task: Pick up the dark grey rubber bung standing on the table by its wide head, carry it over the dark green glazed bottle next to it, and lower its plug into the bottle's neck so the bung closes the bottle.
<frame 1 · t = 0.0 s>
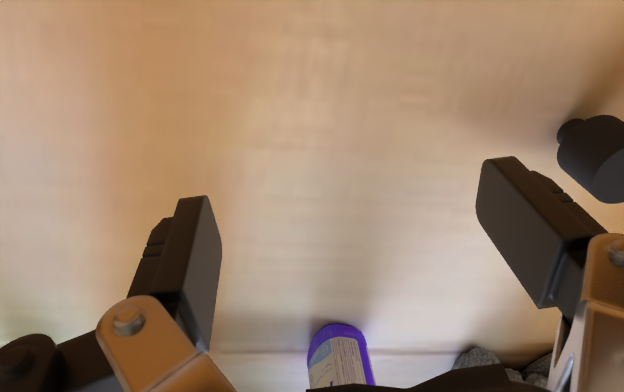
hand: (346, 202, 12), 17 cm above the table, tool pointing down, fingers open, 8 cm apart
koala plush: (495, 384, 52), on the table
bung: (571, 132, 31), on the table
bottle: (334, 338, 44), on the table
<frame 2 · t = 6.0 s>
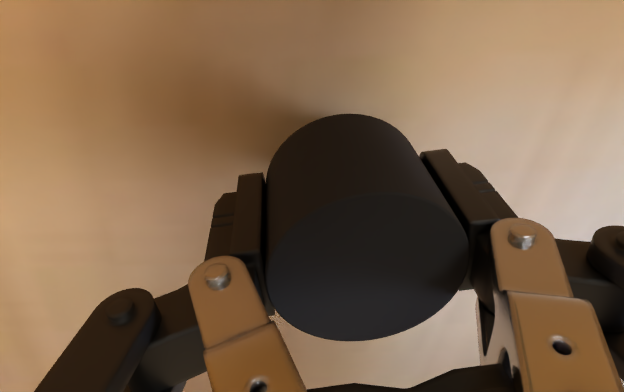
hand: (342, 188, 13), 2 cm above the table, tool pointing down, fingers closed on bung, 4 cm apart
bung: (333, 151, 14), on the table, touching gripper
when the fingers open (17 cm above the table, at t = 12.2 s): bung stays where it is, resting on green bottle.
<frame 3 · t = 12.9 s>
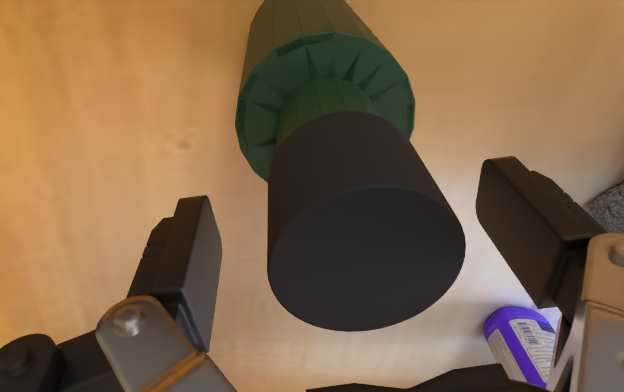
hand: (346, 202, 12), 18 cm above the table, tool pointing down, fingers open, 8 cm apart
green bottle: (304, 43, 27), on the table
bung: (334, 148, 15), point 15 cm above the table, touching green bottle
bottle: (509, 318, 46), on the table
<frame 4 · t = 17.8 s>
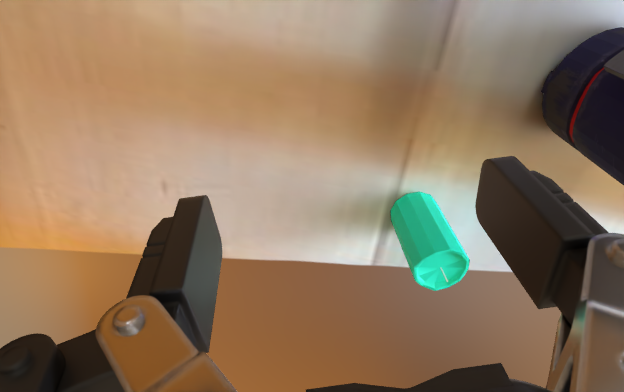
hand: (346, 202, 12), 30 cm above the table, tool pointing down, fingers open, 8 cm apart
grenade: (586, 76, 43), on the table
candle: (412, 210, 51), on the table
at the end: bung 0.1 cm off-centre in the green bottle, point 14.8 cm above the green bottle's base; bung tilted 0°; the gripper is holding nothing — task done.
